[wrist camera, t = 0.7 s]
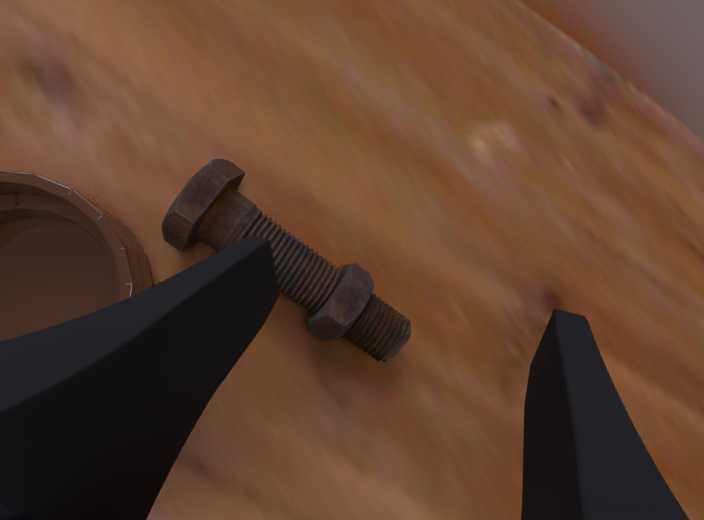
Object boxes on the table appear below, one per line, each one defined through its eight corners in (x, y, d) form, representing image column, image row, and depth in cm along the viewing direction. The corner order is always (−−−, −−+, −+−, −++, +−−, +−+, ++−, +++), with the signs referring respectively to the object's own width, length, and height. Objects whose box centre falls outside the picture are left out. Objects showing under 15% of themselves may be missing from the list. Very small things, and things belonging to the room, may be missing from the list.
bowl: (49, 445, 23) (-4, 481, 19) (-134, 310, 22) (-242, 312, 17) (197, 284, 26) (184, 279, 21) (40, 155, 25) (-12, 119, 20)
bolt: (372, 346, 30) (190, 217, 27) (420, 295, 28) (231, 153, 26) (371, 399, 24) (144, 243, 22) (430, 339, 23) (192, 165, 20)
